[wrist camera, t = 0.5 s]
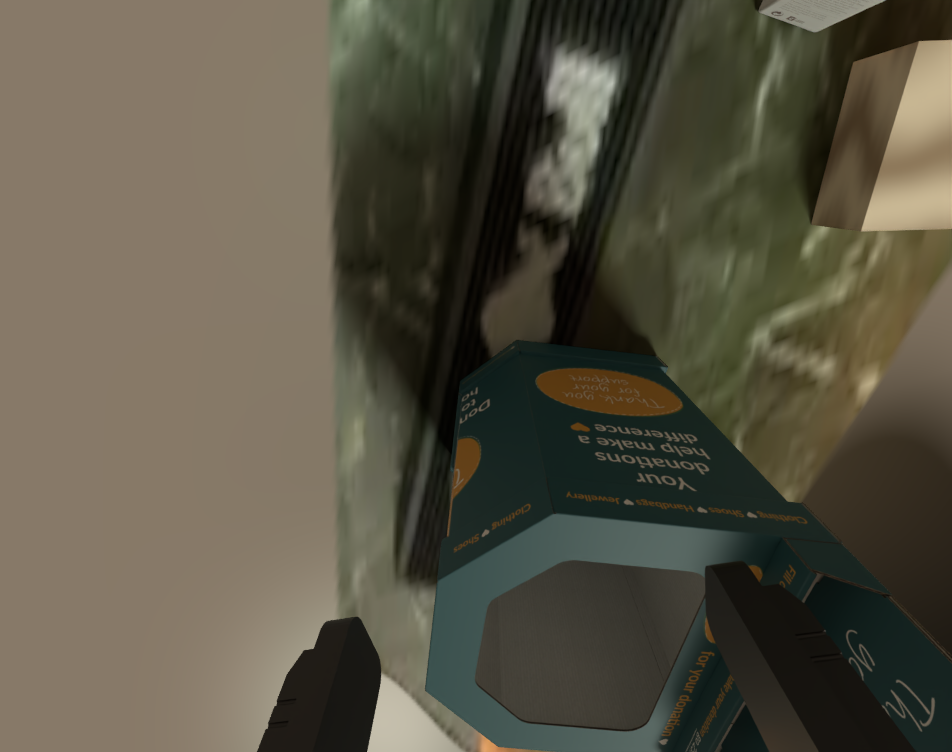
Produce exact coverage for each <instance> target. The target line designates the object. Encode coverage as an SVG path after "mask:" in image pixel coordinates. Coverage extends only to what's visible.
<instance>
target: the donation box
mask: <svg viewBox="0 0 952 752" xmlns="http://www.w3.org/2000/svg"><path fill="white" fill-rule="evenodd" d="M667 368H668V366H667V365H666V364H665V363H664V362H663V361H662V360H661V359H660V358H659V357H658V356H651V355H642V354H633V353H625V352H616V351H607V350H599V349H590V348H581V347H573V346H564V345H555V344H547V343H538V342H529V341H521V340H516V341H515V342H513V343H512V344H511V345H509V346H508V347H506V348H505V349H504V350H502V351H501V352H500V353H498V354H497V355H495V356H494V357H493V358H491V359H490V360H489V361H487V362H486V363H484V364H483V365H482V366H480V367H479V368H477V369H476V370H475V371H473V372H472V373H471V374H469V375H468V376H466V377H465V378H464V379H462V380H461V381H460V386H459V395H458V404H457V412H456V421H455V430H454V439H453V448H452V457H451V466H450V470H451V471H452V472H453V482H452V492H451V502H450V512H449V522H448V532H447V537H446V538H444V539H443V540H442V543H441V552H440V561H439V570H438V578H437V587H436V596H435V605H434V614H433V623H432V632H431V641H430V650H429V659H428V668H427V677H426V685H425V691H426V692H428V693H429V694H430V695H431V696H433V697H434V698H435V699H437V700H438V701H439V702H441V703H442V704H443V705H444V706H446V707H447V708H448V709H450V710H451V711H452V712H454V713H455V714H456V715H457V716H459V717H460V718H461V719H463V720H464V721H465V722H467V723H468V724H469V725H470V726H472V727H473V728H474V729H476V730H477V731H478V732H480V733H481V734H482V735H483V736H485V737H486V738H487V739H489V740H490V741H491V742H493V743H494V744H495V745H496V746H498V747H505V748H517V749H529V750H541V751H553V752H769V750H768V748H767V746H766V744H765V742H764V740H763V738H762V736H761V734H760V732H759V730H758V728H757V726H756V724H755V722H754V720H753V718H752V716H751V713H750V711H749V709H748V707H747V705H746V703H745V701H744V699H743V697H742V695H741V693H740V691H739V689H738V687H737V685H736V683H735V681H734V679H733V677H732V675H731V673H730V671H729V669H728V667H727V665H726V663H725V661H724V659H723V657H722V655H721V653H720V651H719V649H718V647H717V645H716V643H715V641H714V638H713V636H712V633H711V631H710V628H709V624H708V621H707V616H706V603H705V567H706V566H708V565H714V564H721V563H728V562H734V561H743V562H745V563H746V564H747V565H748V566H749V568H750V569H751V570H752V572H753V573H754V575H755V576H756V578H757V579H758V581H759V582H760V584H761V585H762V586H767V585H773V584H780V585H781V586H782V587H784V588H785V589H786V590H788V591H789V592H790V593H792V594H793V595H794V596H796V597H797V598H798V599H799V600H801V601H802V602H803V603H805V604H806V605H807V607H808V608H809V609H810V611H811V612H812V613H813V615H814V616H815V617H816V619H817V620H818V621H819V623H820V624H821V625H822V627H823V628H824V629H825V631H826V634H827V635H828V636H830V637H831V639H832V640H833V641H834V643H835V644H836V645H837V647H838V648H839V649H840V651H841V652H842V655H843V657H844V658H845V659H847V660H848V661H849V663H850V664H851V665H852V667H853V668H854V669H855V671H856V672H857V673H858V675H859V676H860V677H861V679H862V680H863V681H864V683H865V684H866V685H867V687H868V688H869V689H870V691H871V692H872V693H873V695H874V696H875V697H876V699H877V700H878V701H879V703H880V704H881V705H882V707H883V708H884V709H885V711H886V712H887V713H888V715H889V716H890V717H891V719H892V720H893V721H894V723H895V724H896V725H897V727H898V728H899V729H900V731H901V732H902V733H903V735H904V736H905V737H906V739H907V740H908V741H909V743H910V744H911V745H912V747H913V748H914V749H915V750H916V752H952V656H951V655H950V654H949V653H948V652H947V651H946V650H945V649H944V648H943V647H942V646H941V645H940V644H939V643H938V641H937V640H935V638H934V637H933V636H932V635H930V633H929V632H928V631H927V630H926V629H925V628H924V627H923V626H922V625H921V624H920V623H919V622H917V620H916V619H915V618H914V617H913V616H912V615H911V614H910V613H909V612H908V611H907V610H906V609H905V608H904V607H903V606H902V605H901V604H900V603H899V602H898V601H897V600H896V599H895V598H894V597H893V595H892V594H891V593H890V592H889V591H888V590H887V589H886V588H885V587H884V586H883V585H882V584H881V583H880V582H879V581H878V580H877V579H876V578H875V577H874V576H873V575H872V574H871V573H870V572H869V571H868V570H867V569H866V568H865V567H864V566H863V565H862V564H861V563H860V562H859V561H858V560H857V559H856V558H855V557H854V556H853V555H852V554H851V553H850V552H849V551H848V550H847V549H846V548H845V547H844V546H843V544H842V541H841V540H840V539H839V538H838V537H837V536H836V535H835V534H834V533H833V532H832V531H831V530H830V529H829V528H828V527H827V526H826V525H825V524H824V523H823V522H822V521H821V520H820V519H819V518H818V517H817V516H816V515H815V514H814V513H813V512H812V511H811V510H810V509H809V508H808V507H807V506H806V505H805V504H804V503H795V502H787V501H786V500H785V499H784V498H783V496H782V495H781V494H780V493H779V492H778V491H777V490H776V489H775V488H774V487H773V486H772V485H771V484H770V483H769V482H768V481H767V480H766V479H765V478H764V476H763V475H762V474H761V473H760V472H759V471H758V470H757V469H756V468H755V467H754V466H753V465H752V464H751V463H750V462H749V461H748V460H747V459H746V458H745V457H744V455H743V454H742V453H741V452H740V451H739V450H738V449H737V448H736V447H735V446H734V445H733V444H732V443H731V442H730V441H729V440H728V439H727V438H726V437H725V436H724V434H723V433H722V432H721V431H720V430H719V429H718V428H717V427H716V426H715V425H714V424H713V423H712V422H711V421H710V420H709V419H708V418H707V417H706V416H705V415H704V413H703V412H702V411H701V410H700V409H699V408H698V407H697V406H696V405H695V404H694V403H693V402H692V401H691V400H690V399H689V398H688V397H687V396H686V395H685V394H684V392H683V391H682V390H681V389H680V388H679V387H678V386H677V385H676V384H675V383H674V382H673V381H672V380H671V379H670V378H669V377H668V376H667V375H666V371H667Z"/></svg>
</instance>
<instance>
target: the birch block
mask: <svg viewBox="0 0 952 752" xmlns="http://www.w3.org/2000/svg"><path fill="white" fill-rule="evenodd" d="M811 225H818V226H825V227H833V228H840V229H848V230H855V231H889V230H925V229H952V40H937V41H918V42H915V43H912V44H909V45H905V46H902V47H899V48H896V49H893V50H890V51H887V52H883V53H880V54H877V55H874V56H871V57H868V58H865V59H861V60H858V61H855V62H853V65H852V69H851V73H850V77H849V80H848V84H847V88H846V92H845V96H844V100H843V103H842V107H841V111H840V115H839V119H838V123H837V127H836V130H835V134H834V138H833V142H832V146H831V150H830V153H829V157H828V161H827V165H826V169H825V173H824V177H823V180H822V184H821V188H820V192H819V196H818V200H817V203H816V207H815V211H814V215H813V219H812V223H811Z"/></svg>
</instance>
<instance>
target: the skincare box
mask: <svg viewBox="0 0 952 752" xmlns="http://www.w3.org/2000/svg"><path fill="white" fill-rule="evenodd" d="M883 1H885V0H763V1H762V3H761V6H760V8H759V13H762V14H765V15H767V16H770V17H773V18H776V19H779V20H782V21H784V22H787V23H790V24H793V25H796V26H798V27H801V28H804V29H806V30H809V31H812V32H818V31H820V30H822V29H824V28H826V27H828V26H831V25H833V24H835V23H837V22H839V21H842V20H844V19H846V18H848V17H850V16H853V15H855V14H857V13H859V12H861V11H863V10H865V9H868V8H870V7H872V6H874V5H876V4H879V3H881V2H883Z"/></svg>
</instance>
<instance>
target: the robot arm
mask: <svg viewBox="0 0 952 752" xmlns="http://www.w3.org/2000/svg"><path fill="white" fill-rule="evenodd" d="M705 603H706V616H707V621H708V624H709V628H710V631H711V633H712V636H713V638H714V641H715V643H716V645H717V647H718V649H719V651H720V653H721V655H722V657H723V659H724V661H725V663H726V665H727V667H728V669H729V671H730V673H731V675H732V677H733V679H734V681H735V683H736V685H737V687H738V689H739V691H740V693H741V695H742V697H743V699H744V701H745V703H746V705H747V707H748V709H749V711H750V713H751V716H752V718H753V720H754V722H755V724H756V726H757V728H758V730H759V732H760V734H761V736H762V738H763V740H764V742H765V744H766V746H767V748H768V750H769V752H916V750H915V749H914V748H913V747H912V745H911V744H910V743H909V741H908V740H907V739H906V737H905V736H904V735H903V733H902V732H901V731H900V729H899V728H898V727H897V725H896V724H895V723H894V721H893V720H892V719H891V717H890V716H889V715H888V713H887V712H886V711H885V709H884V708H883V707H882V705H881V704H880V703H879V701H878V700H877V699H876V697H875V696H874V695H873V693H872V692H871V691H870V689H869V688H868V687H867V685H866V684H865V683H864V681H863V680H862V679H861V677H860V676H859V675H858V673H857V672H856V671H855V669H854V668H853V667H852V665H851V664H850V663H849V661H848V660H847V659H845V658H844V657H843V655H842V652H841V651H840V649H839V648H838V647H837V645H836V644H835V643H834V641H833V640H832V639H831V637H830V636H828V635H827V634H826V631H825V629H824V628H823V627H822V625H821V624H820V623H819V621H818V620H817V619H816V617H815V616H814V615H813V613H812V612H811V611H810V609H809V608H808V607H807V605H806V604H805V603H803V602H802V601H801V600H799V599H798V598H797V597H796V596H794V595H793V594H792V593H790V592H789V591H788V590H786V589H785V588H784V587H782V586H781V585H780V584H773V585H767V586H762V585H761V584H760V582H759V581H758V579H757V578H756V576H755V575H754V573H753V572H752V570H751V569H750V568H749V566H748V565H747V564H746V563H745V562H743V561H734V562H728V563H721V564H714V565H708V566H706V567H705ZM380 683H381V664H380V659H379V656H378V653H377V651H376V649H375V647H374V645H373V643H372V641H371V639H370V637H369V635H368V633H367V631H366V629H365V627H364V625H363V623H362V621H361V619H360V618H359V617H351V618H345V619H338V620H331V621H327V622H325V623H324V625H323V626H322V628H321V630H320V633H319V636H318V639H317V641H316V644H315V647H314V649H310V650H304V651H303V653H302V654H301V656H300V657H299V658H298V660H297V661H296V663H295V664H294V666H293V667H292V668H291V669H290V671H289V672H288V674H287V676H286V678H285V681H284V684H283V686H282V689H281V691H280V694H279V696H278V699H277V706H275V707H274V709H273V712H272V714H271V717H270V720H269V722H268V729H266V730H265V733H264V735H263V738H262V740H261V743H260V745H259V748H258V751H257V752H367V749H368V745H369V739H370V734H371V729H372V724H373V719H374V714H375V709H376V704H377V699H378V694H379V689H380Z"/></svg>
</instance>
